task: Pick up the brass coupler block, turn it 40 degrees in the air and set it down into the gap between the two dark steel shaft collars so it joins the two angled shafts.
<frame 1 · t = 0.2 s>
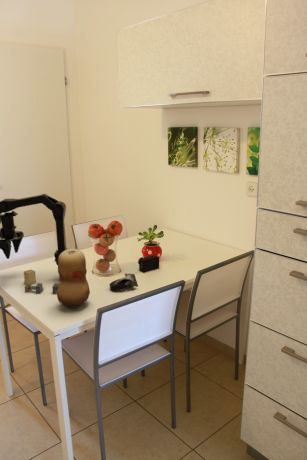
hand: (12, 255, 192), 14 cm above the table, fingers open, 9 cm apart
digital camera: (148, 269, 209), on the table
butternut squash: (74, 305, 169), on the table
coupler: (30, 283, 193), on the table
shaft rig: (47, 292, 183), on the table
caster wheel: (122, 289, 185), on the table
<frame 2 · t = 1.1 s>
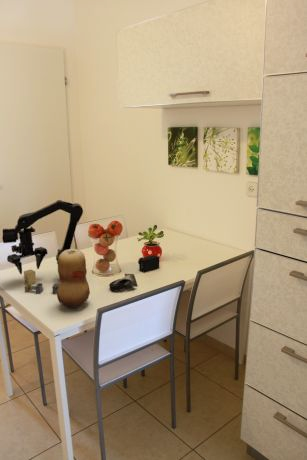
hand: (29, 271, 191), 6 cm above the table, fingers open, 9 cm apart
nothing on the table moved.
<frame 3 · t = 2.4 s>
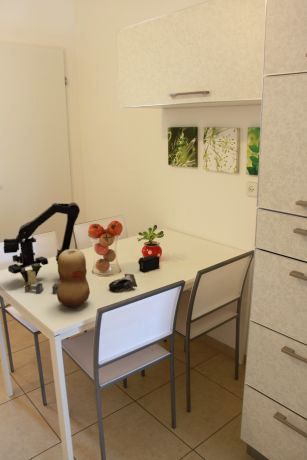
hand: (30, 281, 193), 1 cm above the table, fingers closed on coupler, 4 cm apart
coupler: (30, 283, 193), on the table, touching gripper
everything else where it was.
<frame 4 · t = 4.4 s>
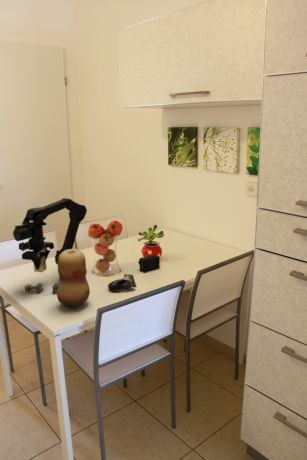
hand: (40, 267, 183), 11 cm above the table, fingers closed on coupler, 4 cm apart
coupler: (40, 270, 183), point 10 cm above the table, touching gripper
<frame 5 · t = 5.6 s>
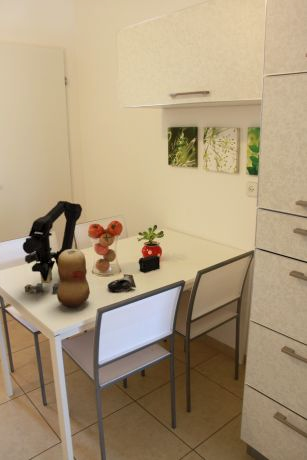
hand: (46, 279, 181), 7 cm above the table, fingers closed on coupler, 4 cm apart
coupler: (46, 281, 181), point 5 cm above the table, touching gripper
when the fingers open (3 cm above the table, at t = 6.6 s): coupler drops 2 cm, on the table.
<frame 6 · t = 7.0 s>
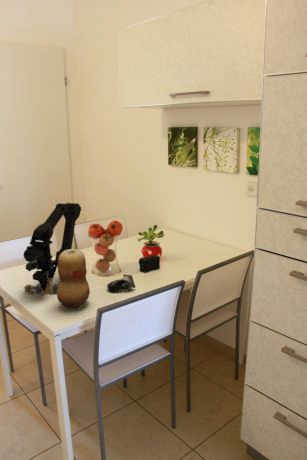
hand: (47, 286, 182), 3 cm above the table, fingers open, 9 cm apart
coupler: (47, 292, 183), on the table
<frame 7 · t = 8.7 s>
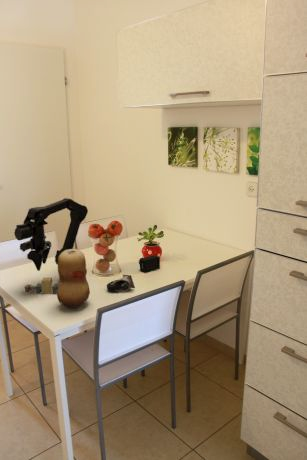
hand: (41, 266, 183), 11 cm above the table, fingers open, 9 cm apart
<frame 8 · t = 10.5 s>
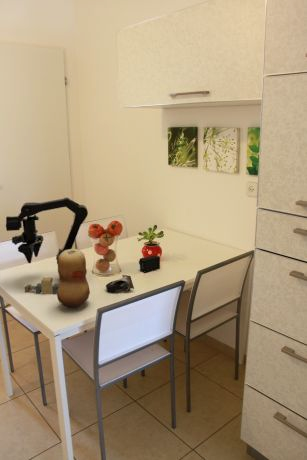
hand: (32, 259, 191), 12 cm above the table, fingers open, 9 cm apart
at the end: coupler 0.1 cm off-centre on the shaft rig, point 0.0 cm above the shaft rig's base; coupler tilted 0°; the gripper is holding nothing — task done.
